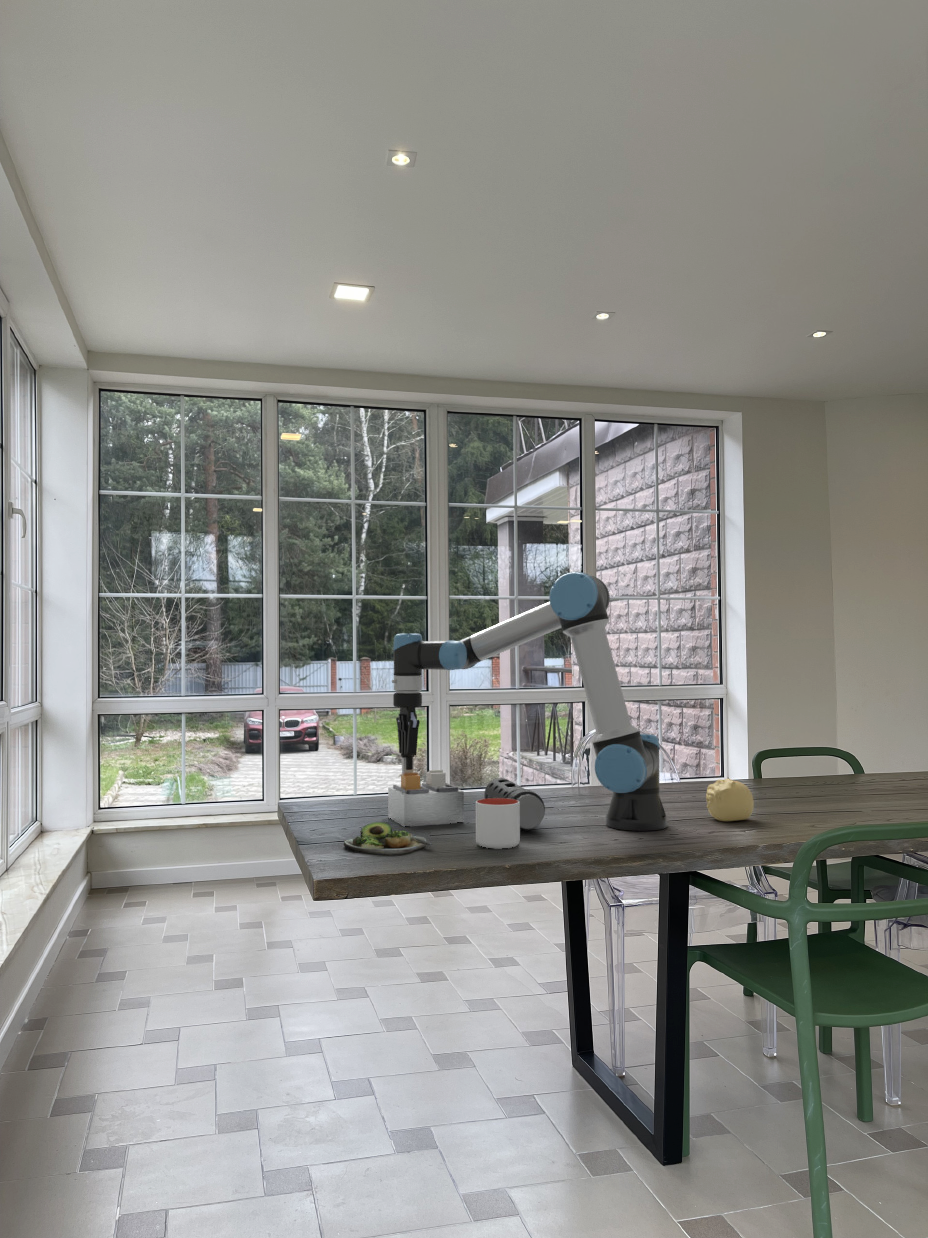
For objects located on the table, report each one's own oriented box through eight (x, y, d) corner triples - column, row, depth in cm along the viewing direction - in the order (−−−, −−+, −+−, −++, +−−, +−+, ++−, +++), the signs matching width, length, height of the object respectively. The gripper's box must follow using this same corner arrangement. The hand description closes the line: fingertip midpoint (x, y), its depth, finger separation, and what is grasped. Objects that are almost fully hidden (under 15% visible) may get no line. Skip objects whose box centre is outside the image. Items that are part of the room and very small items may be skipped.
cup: (476, 841, 215) (476, 798, 215) (519, 841, 214) (519, 798, 215) (475, 850, 205) (475, 805, 205) (520, 850, 204) (520, 805, 205)
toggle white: (445, 786, 245) (445, 770, 245) (431, 787, 243) (431, 771, 243) (440, 784, 248) (440, 769, 248) (426, 785, 247) (426, 769, 247)
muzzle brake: (517, 814, 250) (517, 776, 250) (548, 835, 222) (547, 791, 223) (483, 816, 248) (483, 777, 248) (509, 836, 220) (509, 793, 221)
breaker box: (463, 822, 238) (463, 787, 238) (404, 827, 232) (404, 790, 232) (444, 813, 251) (444, 780, 251) (388, 817, 245) (388, 783, 245)
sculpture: (701, 816, 247) (701, 775, 247) (746, 816, 247) (746, 775, 247) (711, 824, 236) (711, 781, 236) (759, 824, 235) (758, 781, 235)
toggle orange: (420, 789, 239) (420, 773, 239) (405, 790, 238) (405, 774, 238) (415, 787, 243) (415, 771, 243) (400, 788, 241) (400, 772, 241)
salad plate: (449, 845, 212) (449, 825, 212) (407, 861, 196) (407, 839, 196) (378, 837, 221) (378, 818, 221) (333, 851, 205) (333, 830, 205)
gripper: (387, 691, 248) (387, 779, 247) (401, 693, 236) (401, 786, 235) (413, 690, 251) (413, 778, 250) (429, 692, 239) (429, 784, 238)
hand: (407, 781), depth 243 cm, fingers closed
